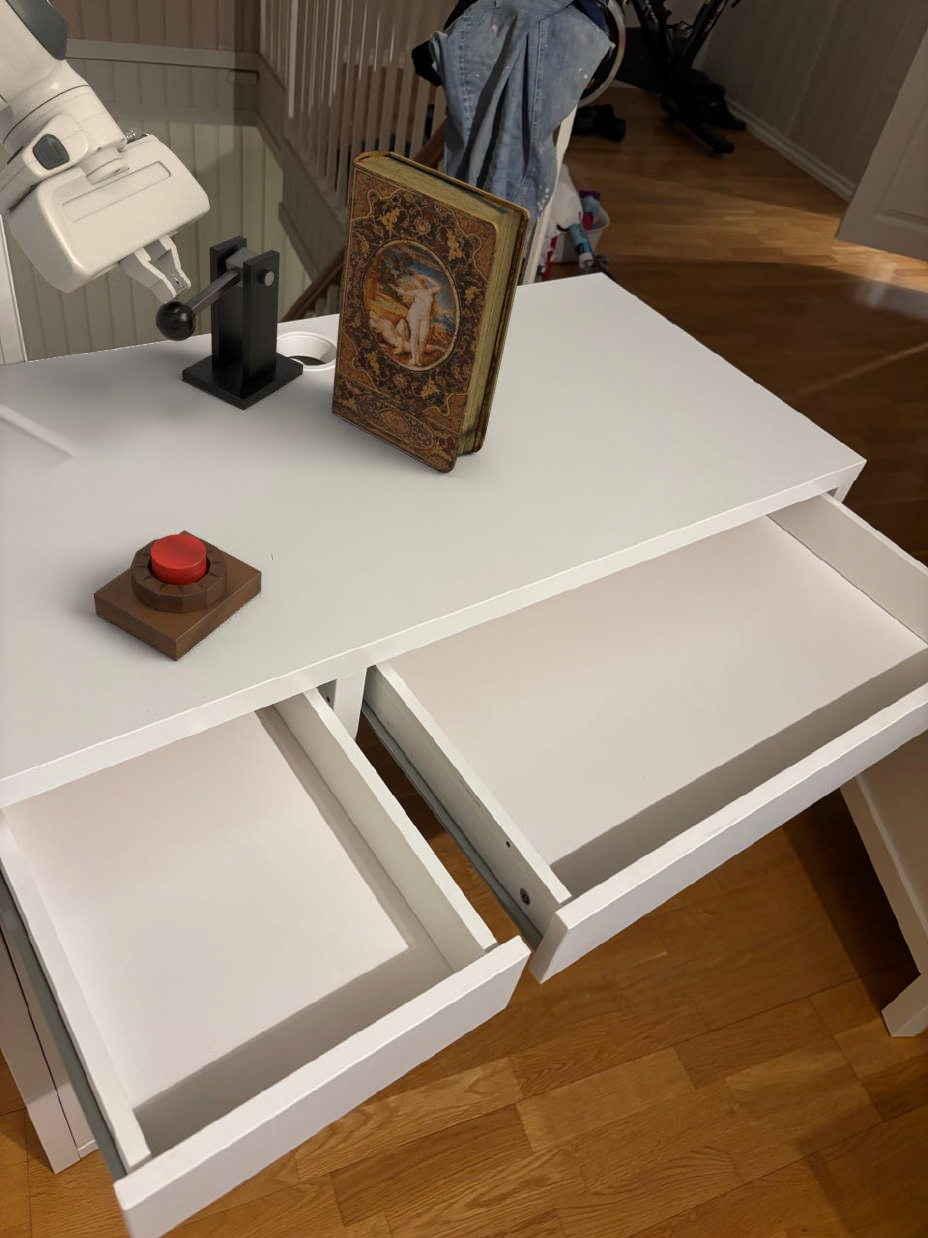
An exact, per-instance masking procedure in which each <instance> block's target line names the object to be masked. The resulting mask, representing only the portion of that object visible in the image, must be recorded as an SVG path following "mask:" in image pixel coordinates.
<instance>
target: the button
mask: <svg viewBox="0 0 928 1238" xmlns="http://www.w3.org/2000/svg"><path fill="white" fill-rule="evenodd" d="M158 539H159V540H157V541H156V542H155V543H154V544H153V546H152V548H151V563H152V571H153V574H154V575H155V576H156V578H158V579H159V580H160V581H162V582H164V583H167V584H171V585H186V584H190V583H193V582H195V581H197V580H199V579H200V578H201V577H202V576H203V575H204V573H205V571H206V549H205V546H204V545H203V543H202V542H201V541H200V540H198V539H197V538H194V537H192V536H189V535H183V534H179V533H177V534H176V533H175V534H169V535H166V536H165V535H164V536H163V537H161V539H160V538H158Z"/></svg>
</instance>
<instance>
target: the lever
mask: <svg viewBox="0 0 928 1238" xmlns="http://www.w3.org/2000/svg"><path fill="white" fill-rule="evenodd" d="M260 254H261V253H259V252H257V251H254V250H252V249H249V248H248V247H247V248H245V247H242V248H241V249H240V250H238V251H237V252H236V253H234V254H233V255H232V256H230V257H229V258H228V259H226V260H225V262H226V268H227V272H226V273H224V274H223V275H222V276H220V277H219V278H218V279H217V280H215V281H214V282H213V283H211V284H210V283H209V285H207V286H206V287H204V288H203V289H202V290H201V291H199V292H198V293H196V294H195V295H194V296H193V297H191V298H190V299H189V300H187V301H186V302H184V301H181V300H178V299H172V300H171V301H169V302H168V303H166V304H163V303H161V305H160V306H159V307H158V308H157V310H156V312H155V320H154V321H155V325H156V328H157V330H158V332H159V333H160V334H161V335H162V336H163V337H164V338H166V339H167V340H168V341H169V340H170V341H172V342H183V341H186V340H187V339H190V337H191V336H192V335H193V334H194V333H195V331H196V328H197V316H198V315H199V314H201V313H202V312H203V311H205V310H206V309H207V308H208V307H209V306H210V307H211V304H212V303H213V302H215V301H216V300H217V299H219V298H220V297H221V296H222V295H224V294H225V293H226V292H228V291H229V290H230V289H231V288H233V287H234V286H235V285H237V286H240V287H242V288H243V262H244V261H247V260H249V259H251V258H253V257H256V256H258V255H260Z"/></svg>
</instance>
